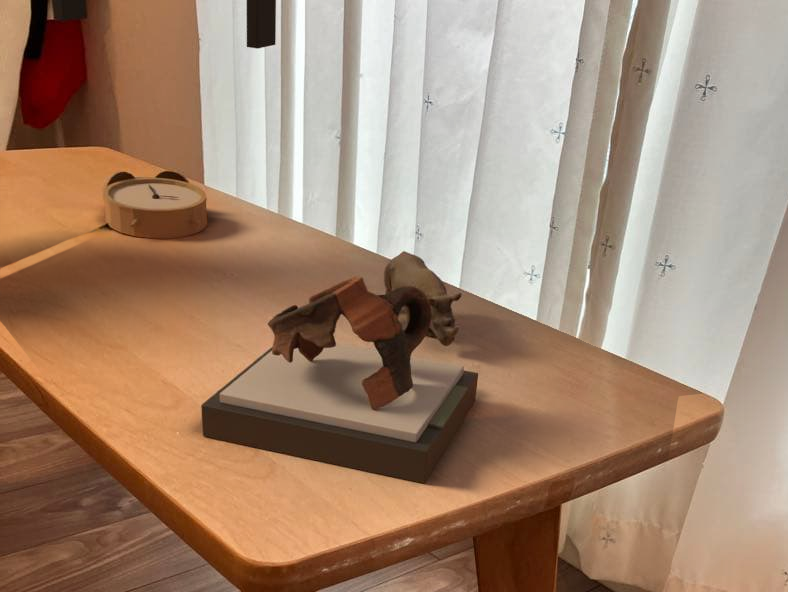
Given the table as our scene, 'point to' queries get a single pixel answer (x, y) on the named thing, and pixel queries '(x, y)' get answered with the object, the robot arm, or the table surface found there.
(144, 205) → the alarm clock
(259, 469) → the table surface
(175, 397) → the table surface
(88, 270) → the table surface
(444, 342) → the rhino figurine
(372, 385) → the brown jagged curved piece
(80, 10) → the robot arm
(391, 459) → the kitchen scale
